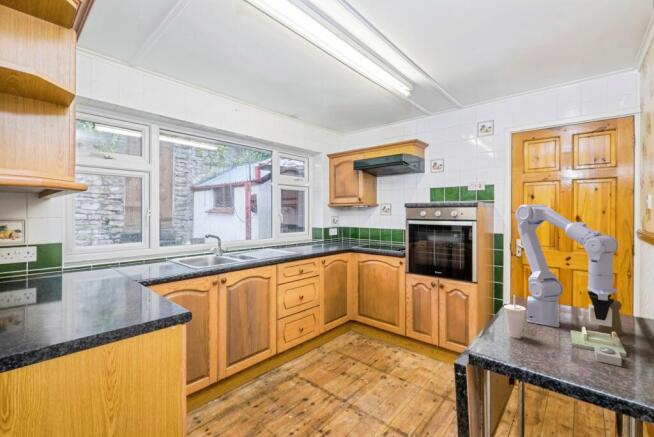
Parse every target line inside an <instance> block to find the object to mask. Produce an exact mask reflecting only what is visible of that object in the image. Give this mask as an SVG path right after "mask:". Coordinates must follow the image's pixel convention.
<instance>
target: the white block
mask: <svg viewBox="0 0 654 437" xmlns="http://www.w3.org/2000/svg"><path fill="white" fill-rule="evenodd" d="M588 321H589V324H592V325H604V326H610V327H612V310H611V308H609V310H608V314H607V317H606V320H599V319H596V316H595V312H594V306H593V305H592V303H590V304H588Z"/></svg>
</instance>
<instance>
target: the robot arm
mask: <svg viewBox="0 0 654 437" xmlns="http://www.w3.org/2000/svg"><path fill="white" fill-rule="evenodd" d="M514 216H515V219H516V221H517V232H518V234H519V237H520V240H521V241H520V242H521V244H522V246H523V249H524V253H525V255H526V259H527V262H528V264H529V267H530V271H531V275H530V276H529V277H528V279H527V281H528V291H529V293H530V296H529V295H528V296H527V300H526V302H527V305H526V307H527V308H526V318H527V319H526V322H527V323H532V324H537V325H541V326H542V325H544V326H548V327H554V328H560V320H559V317H558V316H559V313H558V312H559V299H560V296H561V295H562V294H563V293H564V286H563V285H562V284H563V283H561V282H560V281H559V279H558V277H557V275H556V274H554V272H551V271H550V269H549V266H548V263H547V260H546V258H545V255H544V252H543V249H542V246H541V243H540V240H539V238H538V235H537V231H536V230H537V229H538V227H540V226H541V225H542V224H543V223H544V222H548V223H550V224H551V225H553V226H556V227H557V228H559V229H562V230H563V231H565V236H567V238H570V239H572V240H573V241H575V242H576V243H578V244H579V245H581V246H583V248H584V250H585V252H586V254H587V258H588V266H587V268H588V269H587V270H588V273H587V274H588V276H587V277H588V280H587V281H588V282H587V283H588V284H587V294H588V297H589V300H590V302H591V304H592V305H593V306H594V312H595V316H596V319H599V320H606V317H607V314H608V310H609V308H610V306H611V305H612V303H613V302H614V300H615V299H614V298H611V296H612V294H613V293H614V294H617V293H619V290H618V289H617V288H614V287H613V286H614V282H613V280H614V253H616V251H617V250H618V248H619V243H618V241H617V239H616V238H615V237H614V236H612V235H610V234H602V233H601V231H599V230H594V229H593V228H590V227H589V226H587V225H588V224H587V223H586V222H579V221H576V222H572V221H571V220H570V219H567V218H566V217H565V216H562V215H561V214H560V213H558V212H556V211H555V210H553V209H552V207H550V206H547V205H546V204H543V203H541V204H520V205H519V206H518V208H517V209H516V211H515V213H514Z"/></svg>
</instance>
